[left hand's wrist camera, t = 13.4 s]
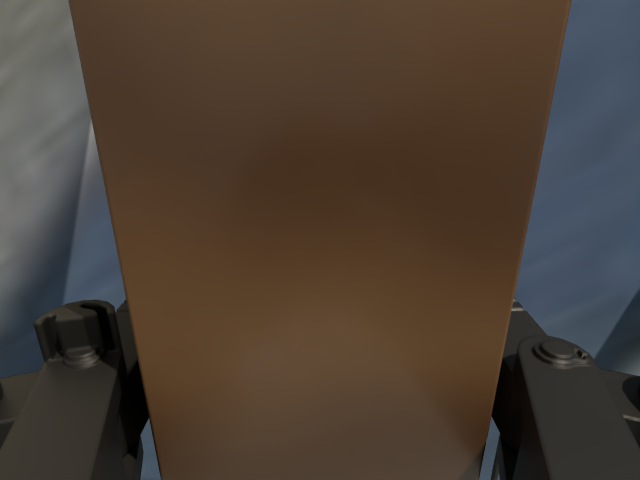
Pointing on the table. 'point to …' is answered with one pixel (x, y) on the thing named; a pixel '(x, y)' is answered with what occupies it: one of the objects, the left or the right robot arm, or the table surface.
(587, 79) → the table surface
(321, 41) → the board
